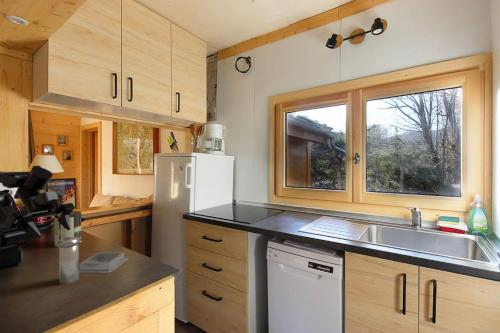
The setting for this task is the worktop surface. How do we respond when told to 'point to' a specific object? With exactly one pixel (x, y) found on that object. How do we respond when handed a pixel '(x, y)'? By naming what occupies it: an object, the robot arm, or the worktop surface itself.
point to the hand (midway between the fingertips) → (55, 233)
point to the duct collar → (102, 263)
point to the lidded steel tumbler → (68, 259)
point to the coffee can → (74, 227)
